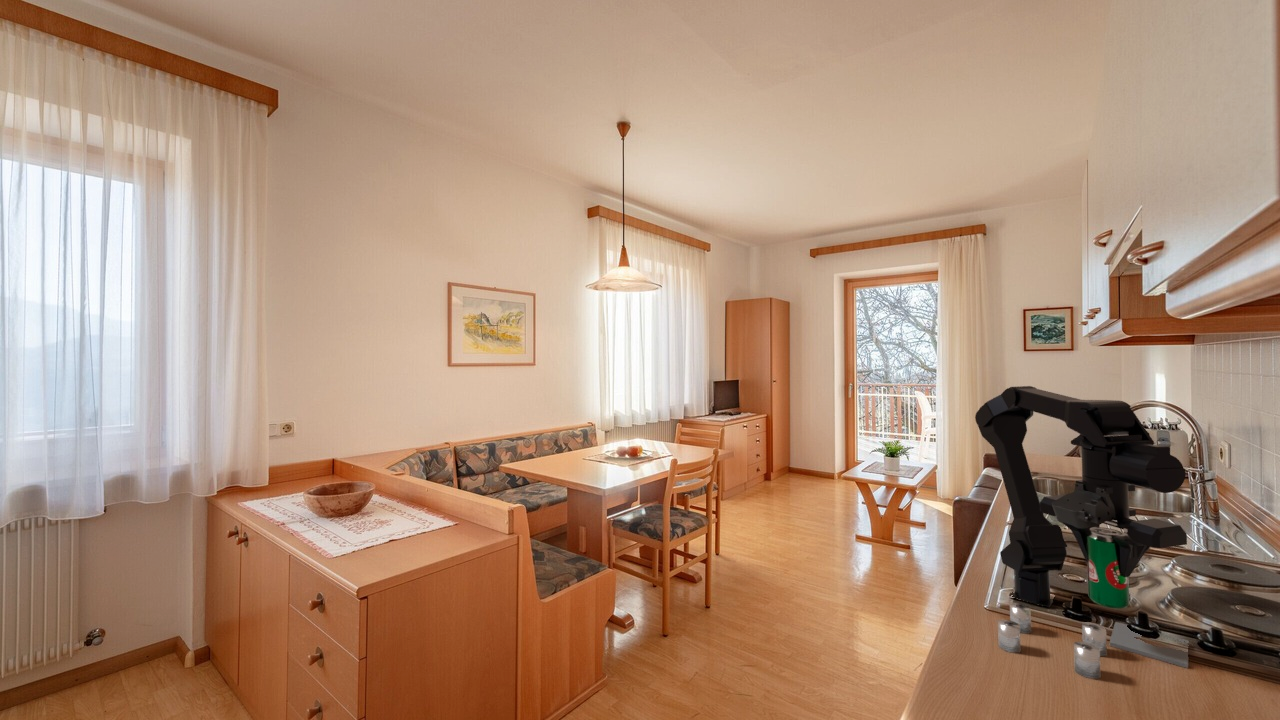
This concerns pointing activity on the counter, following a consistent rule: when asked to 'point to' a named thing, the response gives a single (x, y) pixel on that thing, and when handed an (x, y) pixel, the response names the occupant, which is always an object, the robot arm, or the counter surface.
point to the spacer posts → (1083, 651)
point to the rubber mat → (1146, 646)
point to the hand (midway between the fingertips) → (1107, 569)
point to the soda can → (1105, 569)
